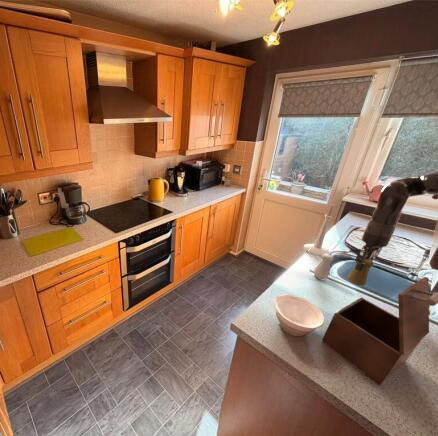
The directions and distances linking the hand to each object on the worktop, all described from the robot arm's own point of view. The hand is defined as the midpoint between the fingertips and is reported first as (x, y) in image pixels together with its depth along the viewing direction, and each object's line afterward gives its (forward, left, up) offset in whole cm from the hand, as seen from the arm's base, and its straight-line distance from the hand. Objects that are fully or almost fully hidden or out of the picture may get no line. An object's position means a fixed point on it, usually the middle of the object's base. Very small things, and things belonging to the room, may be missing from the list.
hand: (361, 268), depth 95 cm
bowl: (+36, -1, -17) cm, 40 cm away
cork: (0, 0, -7) cm, 7 cm away
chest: (+24, +16, -16) cm, 33 cm away
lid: (+24, +21, +6) cm, 32 cm away
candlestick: (-28, -30, -17) cm, 44 cm away
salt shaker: (-4, -14, -17) cm, 22 cm away
